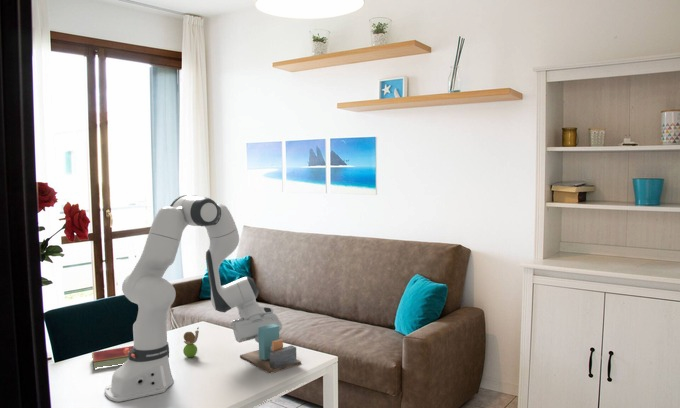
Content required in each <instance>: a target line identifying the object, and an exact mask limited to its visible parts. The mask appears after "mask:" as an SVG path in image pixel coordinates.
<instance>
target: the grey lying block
mask: <svg viewBox="0 0 680 408" xmlns="http://www.w3.org/2000/svg"><path fill="white" fill-rule="evenodd" d="M297 360H298V358H297V346H294V345H288V346H283V348H281V349H277V350H274V351H270V367H271V368H273V369H274V370H275V369H278V368H281V367H284V366H287V365H291V364H294V363H297Z"/></svg>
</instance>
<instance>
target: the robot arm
mask: <svg viewBox="0 0 680 408" xmlns="http://www.w3.org/2000/svg"><path fill="white" fill-rule="evenodd" d="M187 226H193V227H204V228H205V229H206V232H207V235H208V238H209V248H208V249H207V251H206V252H205V260H206V262H205V263H206V268H207V270H206V271H207V275H208V281H209V288H210V302H211V304H212V307H213V309H215V311H217V312H220V313H227V312H228V311H230V310H232V309H234V308H236V309H237V311H238V315H239V317H240V318H238V319H233V320H232V321H231V323H230V327H231V329H232V330H233V335H234V337H235V341H236V342H238V343H243V342H246V341H252V340H255V342H257V343H258V344H259V336H258V327H263V326H267V325H271V324H275V325H278V326H279V333H280V332H281V330H282V329H283V325H282V322H281V320H280V318H279V317H278V315H277V314H276V313H275V312H274V309H273V308H272V307H267V306H263V305H262V306H260V304H259V303H258V302H257V300H256V299H257V298H258V296H259V292H260V290H259V288H258V287H257V284H256V282H255V281H254V278H252V277H251V276H246V275H245V276H244V277H243V276H242V277H241V278H238V279H235V280H234V281H230V282H229V283H227V284H223V285H221V278H220V272H219V271H220V266H221V265H222V263H223V262H224V261H225V260H226V259H227V258H228V257H230V255H232V254H233V253H234V252H235V250H236V249H237V247H238V246H239V243H240V235H239V231H238V228H237V224H236V222H235V219H234V218H233V216H232V213H231V212H230V209H228V207H227V205H224V204H222V203H217V202H215V200H213V199H211V198H210V197H206V196H199V195H185V194H184V195H180V196H178V197H177V198H175V199H174V200H173V201H172V203H171V204H170V205H169V206H164V207H161V208H160V209H159V210H158V211H157V213H156V215H155V217H154V219H153V221H152V223H151V226H150V229H149V232H148V233H147V234H148V235H147V238H146V240H145V244H144V248H143V250H142V253H141V256H140V258H139V259H138V261H137V262H136V265H135V266H134V268H133V270H132V271H131V273H130V274H129V275H128V276H127V277H125V278H124V280H123V282H122V286H121V291H122V293H123V295H124V296H125V298H126V299H127V300H128V301H130V302H131V303H132V304H133V303H134V304H136V305H137V306H138V311H137V316H136V320H135V321H134V323H133V324H132V335H133V336H132V337H133V338H132V339H133V345H132V346H133V348H132V349H131V350H130V349H129V348H125V350H124V353H125V354H126V355H128V357H129V359H128V360H127V361H126V362H125V363H124V364H123V365H122V366H118V368H117V369H116V370H114V372H113V374H112V377H111V384H110V385H107V386H106V387H105V389H104V395H105V396H106V398H107V399H108V400H110V401H113V402H119V403H120V402H124V401H130V400H133V399H139V398H144V397H147V396H152V395H156V394H163V393H165V392H166V391H167V389H168V388H169V387H170V386H172V384H173V383H174V382H175V381H174V380H175V379H174V378H173V375H172V371H171V368H170V360H169V358H170V348H169V342H168V331H167V330H168V329H167V324H168V323H167V321H168V317H169V316H168V315H169V312H170V308H171V306H172V305H173V304H174V302H175V300H176V296H177V295H176V289H175V287H174V285H173V284H172V283H171V282H169V281H168V280H167V279H165V278H163V276H164V274H165V273H166V271H167V270H168V268H170V267H171V266H172V265H173V264H174V262H175V260H176V257H177V253H178V249H179V247H180V244H181V240H182V236H183V232H184V230H185V229H186V228H187Z"/></svg>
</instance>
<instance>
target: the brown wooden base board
mask: <svg viewBox="0 0 680 408" xmlns="http://www.w3.org/2000/svg"><path fill="white" fill-rule="evenodd" d="M239 358H240V359H242V360H244V361H246V362H248V363H249V364H252V365H253V366H255V367H257V368H259V369H261V370H263V371H264V372H266V373H268V374H272V373H277V372H279V371H280V372H281V371H283V370H285V369H290V368H291V367H295V366H299V365H301V364H302V361H301V360H299V359H297V363H294V364H291V365H287V366H284V367H281V368H278V369H275V370H274V369H273V368H271V367H270V359H268V360H263V359H261V358H259V349H257V350H253V351H249V352H247V353H243V354H240V355H239Z"/></svg>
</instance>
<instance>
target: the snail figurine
mask: <svg viewBox="0 0 680 408" xmlns="http://www.w3.org/2000/svg"><path fill="white" fill-rule="evenodd" d="M199 332H200V331H199V326H197V327H196V330H195V332H192V331H186V332H185V333H184V334H183V339H184V341H183V343H184V344H185V345H184V347H183V349H182V350H183V351H182V352H183V355H184V356H185V357H186V358H194V357H195V356H196V355H197V352H198V347H197V345H196V344H195V343H197V340H198V338H199V334H200V333H199Z"/></svg>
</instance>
